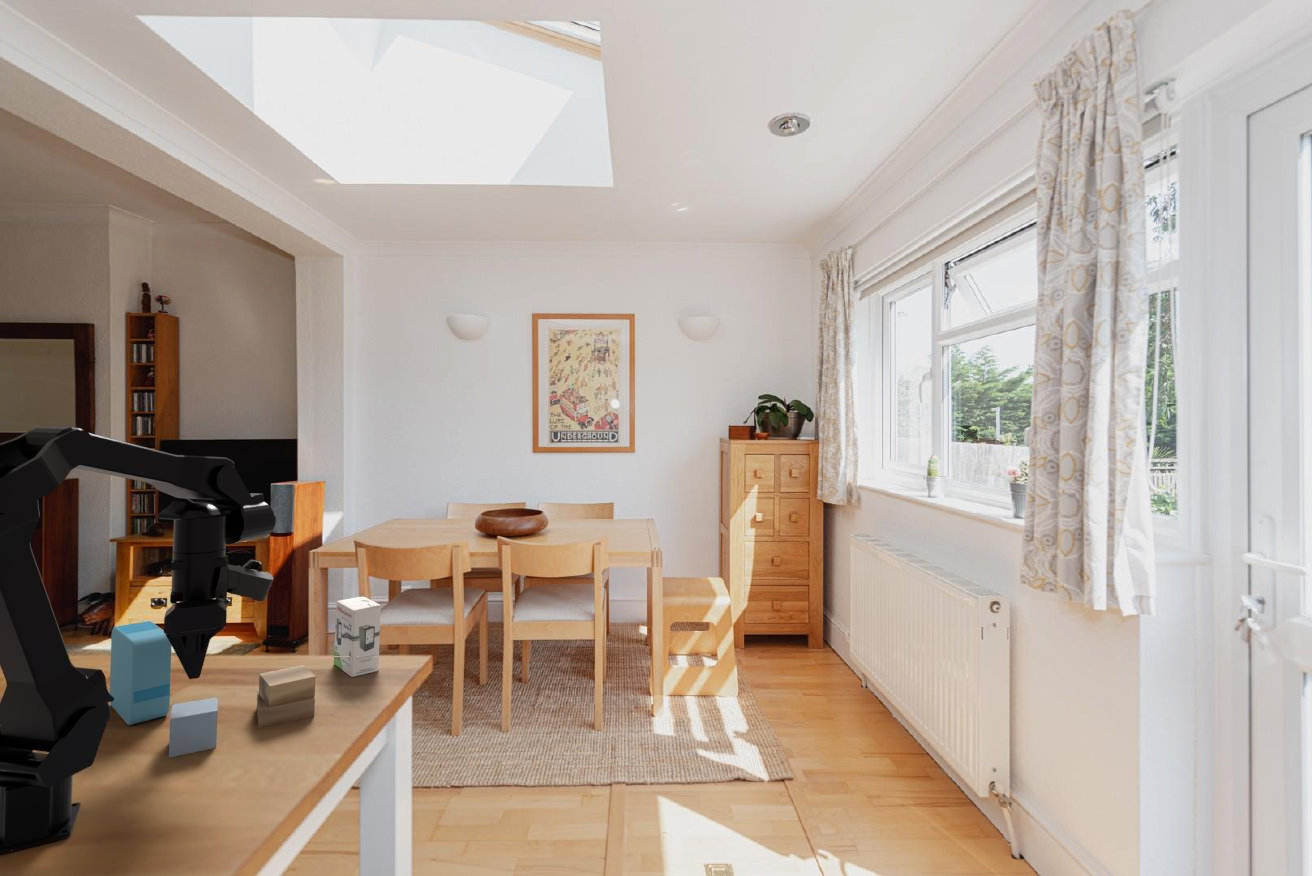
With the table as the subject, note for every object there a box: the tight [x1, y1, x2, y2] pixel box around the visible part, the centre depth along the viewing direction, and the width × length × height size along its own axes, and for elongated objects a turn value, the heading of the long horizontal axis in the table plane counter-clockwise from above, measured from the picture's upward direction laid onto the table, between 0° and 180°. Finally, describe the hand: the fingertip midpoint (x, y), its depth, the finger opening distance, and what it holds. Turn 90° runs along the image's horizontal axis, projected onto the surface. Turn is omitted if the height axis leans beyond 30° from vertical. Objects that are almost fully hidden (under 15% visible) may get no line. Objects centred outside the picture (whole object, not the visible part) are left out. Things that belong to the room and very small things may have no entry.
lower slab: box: [256, 690, 316, 728], centre depth 94 cm, size 7×7×3 cm
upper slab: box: [258, 664, 316, 707], centre depth 94 cm, size 6×6×3 cm
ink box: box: [333, 596, 382, 678], centre depth 113 cm, size 9×5×12 cm, turn 47°
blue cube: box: [168, 696, 219, 758], centre depth 84 cm, size 5×5×5 cm
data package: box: [109, 620, 173, 726], centre depth 93 cm, size 12×4×12 cm, turn 52°
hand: (195, 667), depth 84 cm, fingers open, 9 cm apart
